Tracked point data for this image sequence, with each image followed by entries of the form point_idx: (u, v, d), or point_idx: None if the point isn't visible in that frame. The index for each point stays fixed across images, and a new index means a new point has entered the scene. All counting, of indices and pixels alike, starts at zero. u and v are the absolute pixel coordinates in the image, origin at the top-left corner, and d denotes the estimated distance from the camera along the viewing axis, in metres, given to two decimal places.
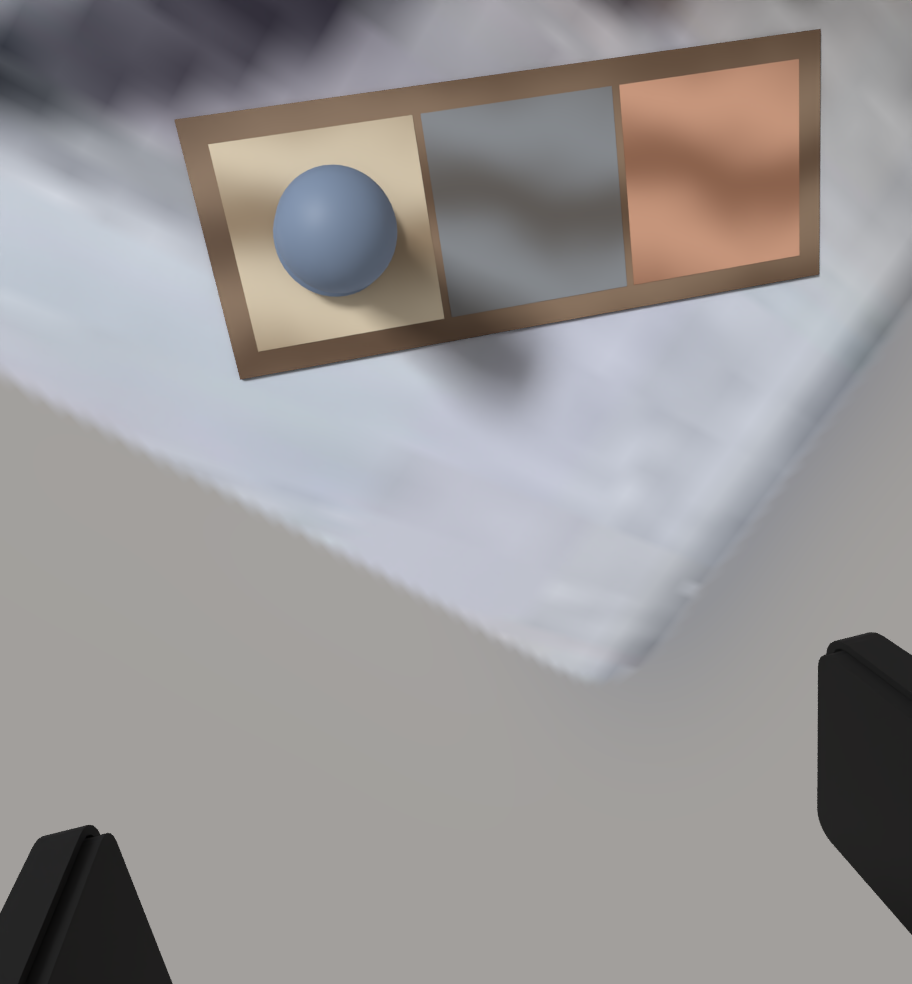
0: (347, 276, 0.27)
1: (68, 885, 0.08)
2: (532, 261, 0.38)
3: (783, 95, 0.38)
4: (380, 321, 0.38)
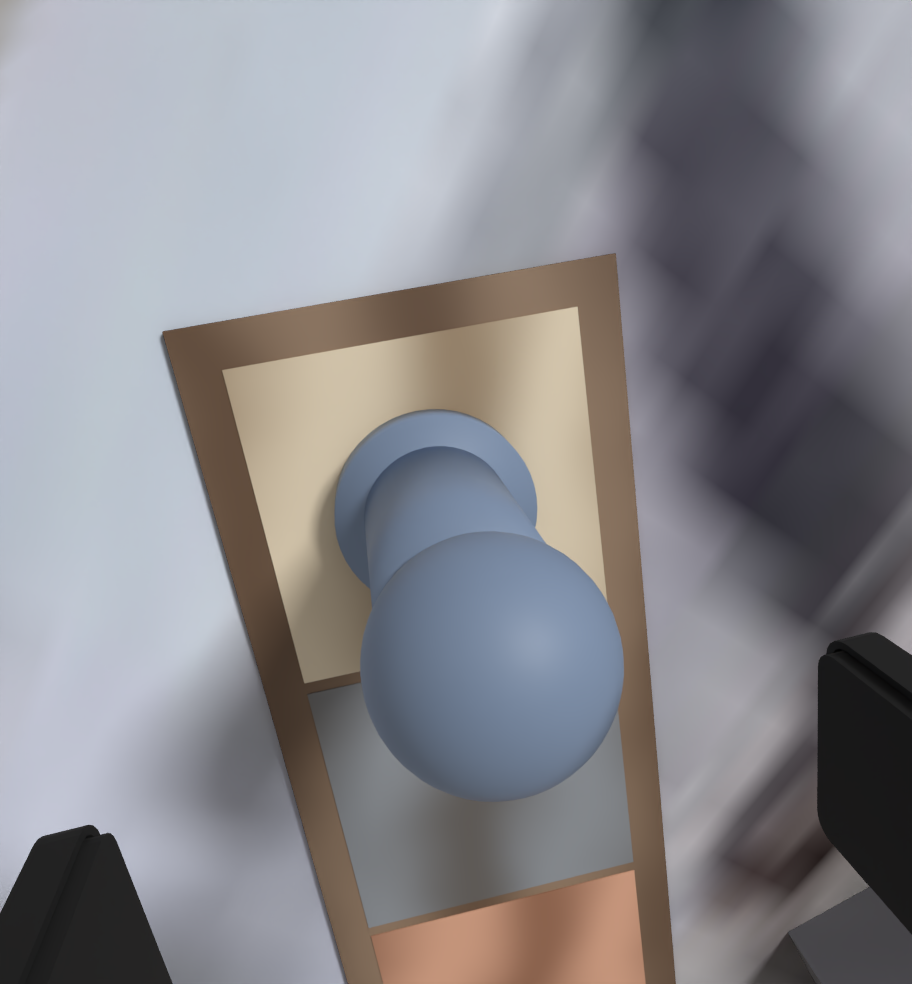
0: (406, 738, 0.11)
1: (68, 885, 0.08)
2: (400, 799, 0.24)
3: None
4: (294, 583, 0.21)
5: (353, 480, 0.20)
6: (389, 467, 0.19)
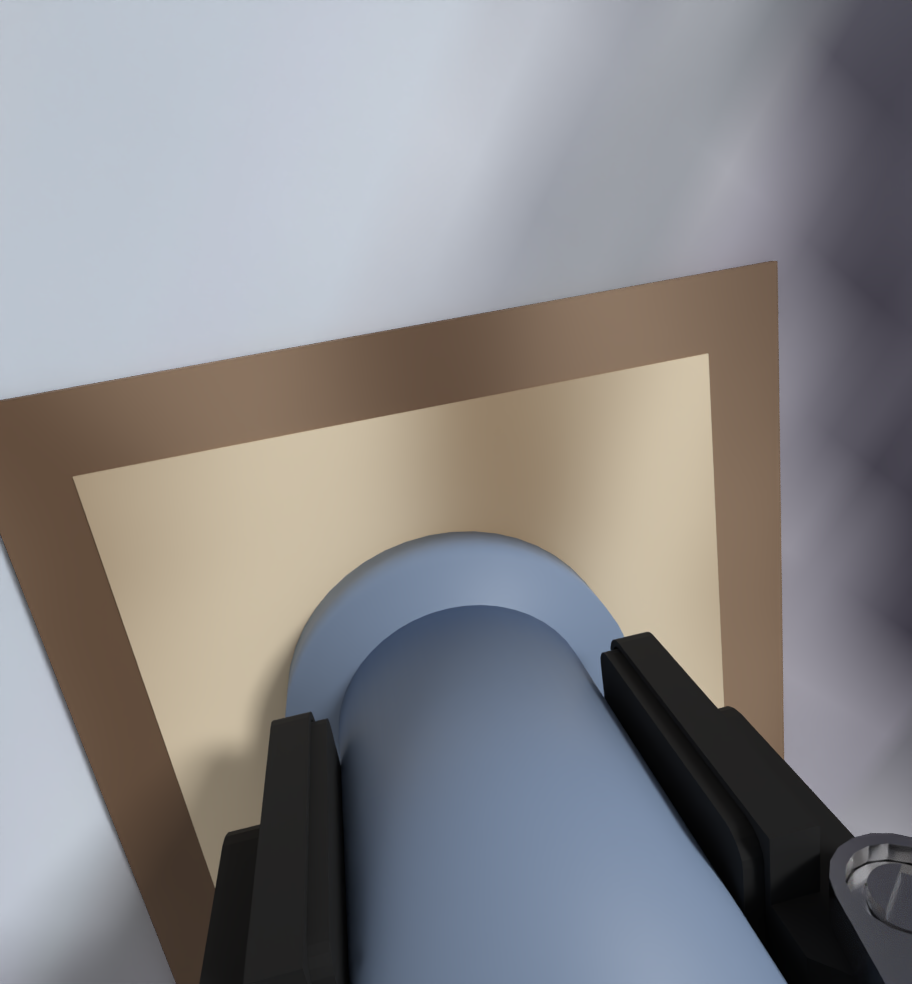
0: None
1: (314, 751, 0.09)
2: None
3: None
4: (220, 820, 0.13)
5: (318, 669, 0.11)
6: (383, 648, 0.11)
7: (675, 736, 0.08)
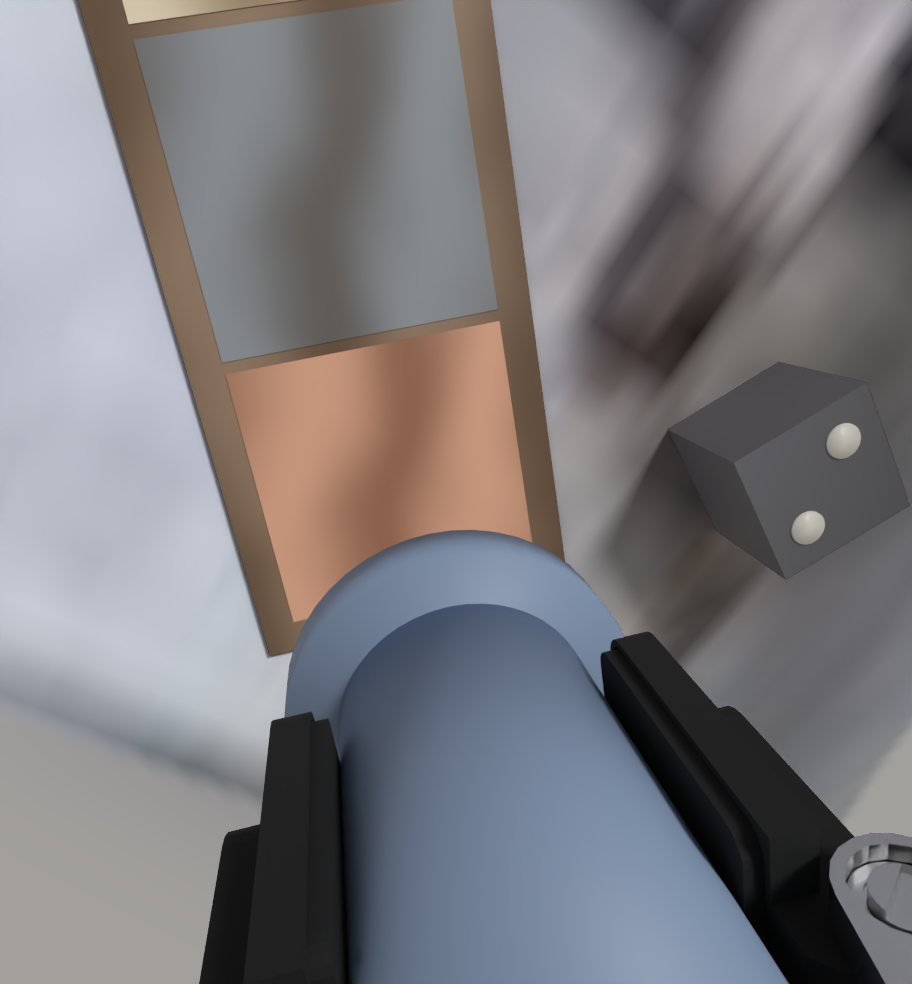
0: None
1: (314, 752, 0.09)
2: (244, 194, 0.23)
3: None
4: None
5: (317, 668, 0.11)
6: (382, 646, 0.11)
7: (675, 736, 0.08)
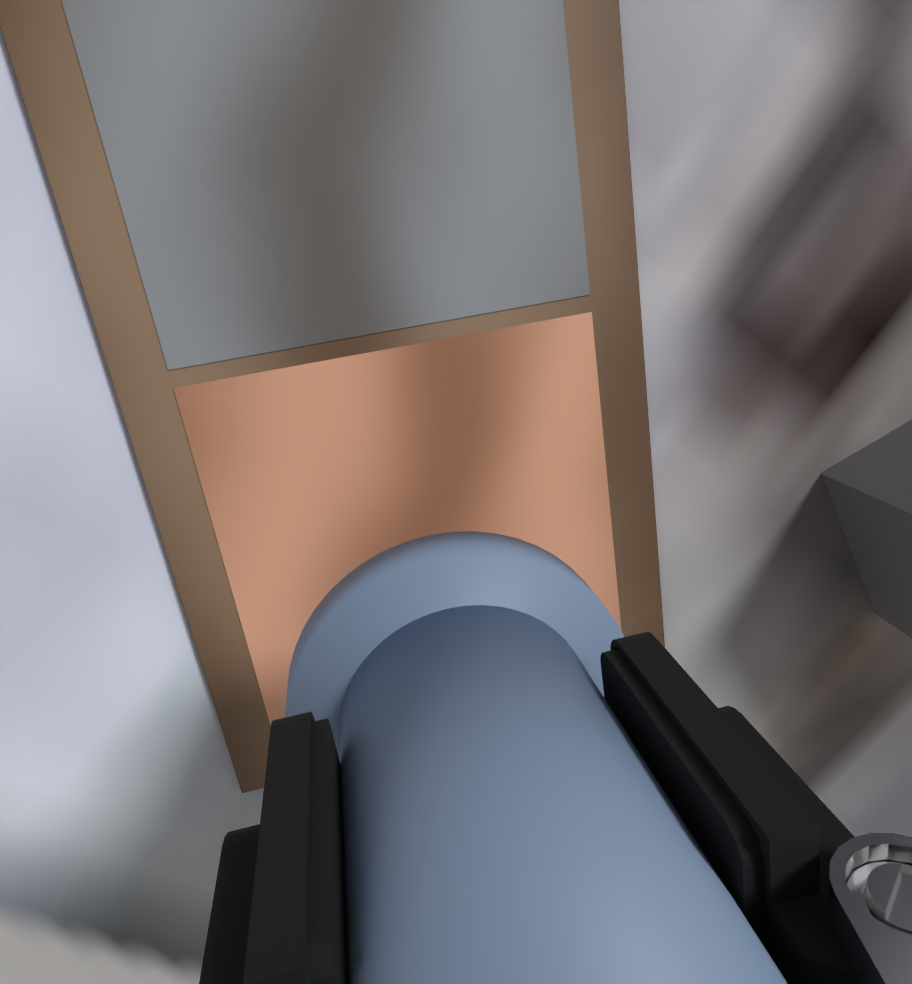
0: None
1: (314, 751, 0.09)
2: (201, 102, 0.15)
3: None
4: None
5: (317, 669, 0.11)
6: (382, 648, 0.11)
7: (675, 736, 0.08)
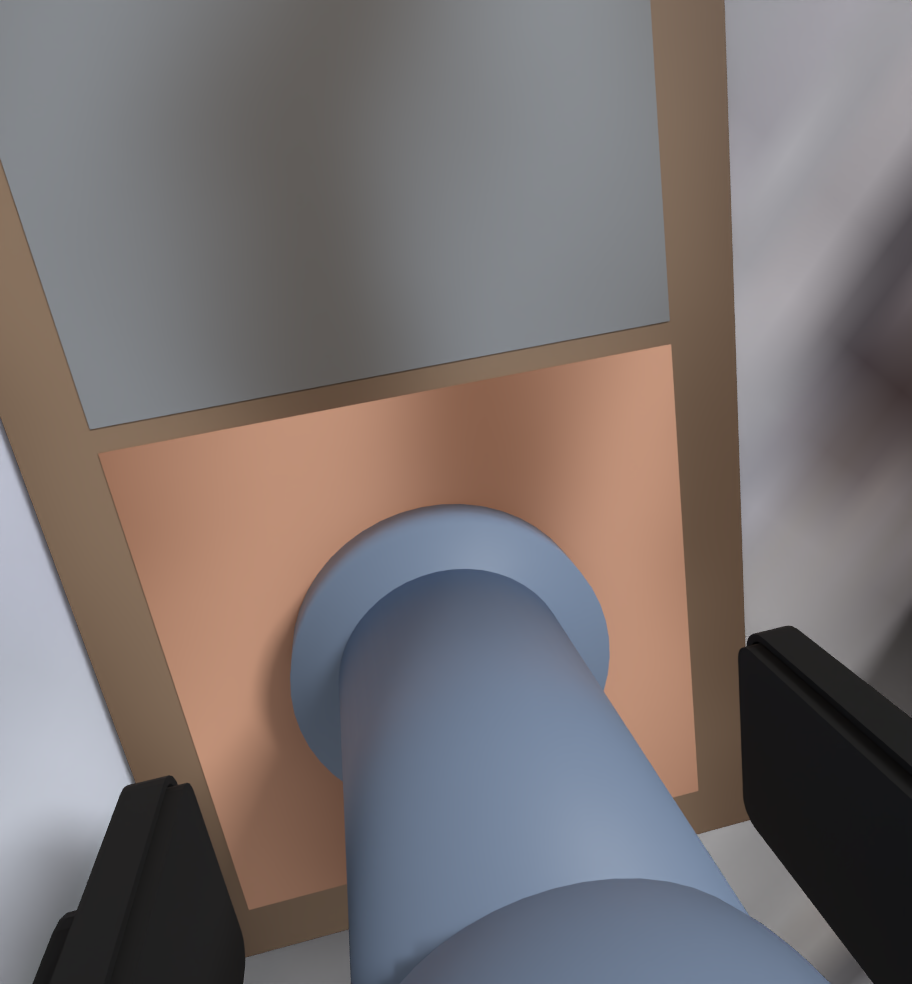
0: None
1: (158, 825, 0.08)
2: (128, 50, 0.10)
3: None
4: None
5: (320, 626, 0.12)
6: (378, 606, 0.12)
7: (853, 734, 0.08)
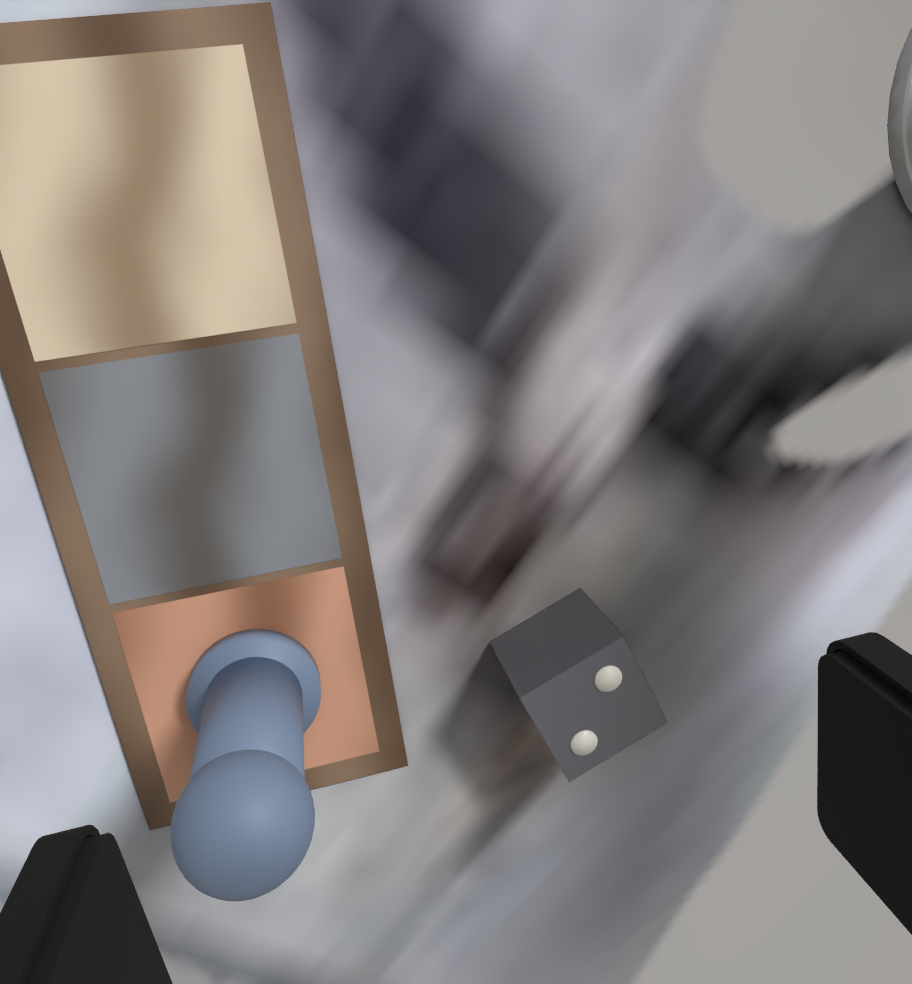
0: (187, 872, 0.23)
1: (68, 885, 0.08)
2: (128, 480, 0.29)
3: (342, 744, 0.34)
4: (19, 268, 0.26)
5: (198, 679, 0.31)
6: (220, 672, 0.31)
7: None
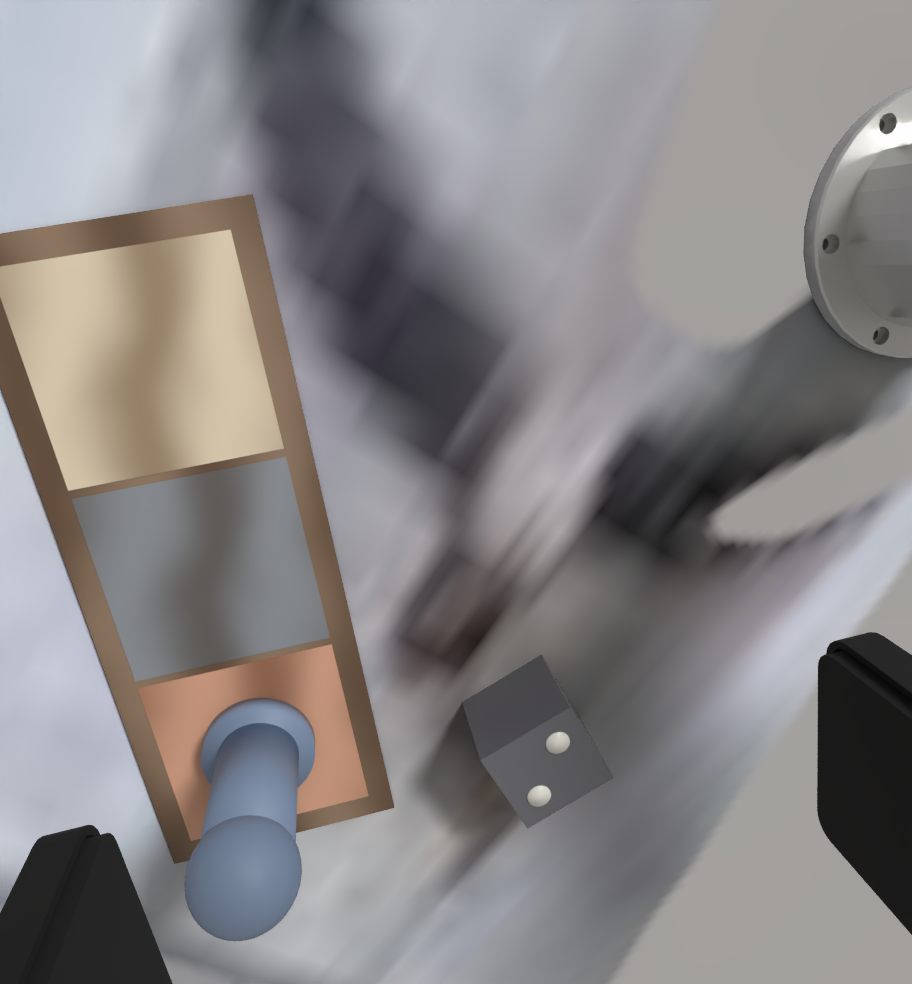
0: (197, 919, 0.29)
1: (68, 885, 0.08)
2: (148, 581, 0.35)
3: (336, 790, 0.40)
4: (53, 418, 0.32)
5: (210, 742, 0.37)
6: (228, 736, 0.36)
7: None
